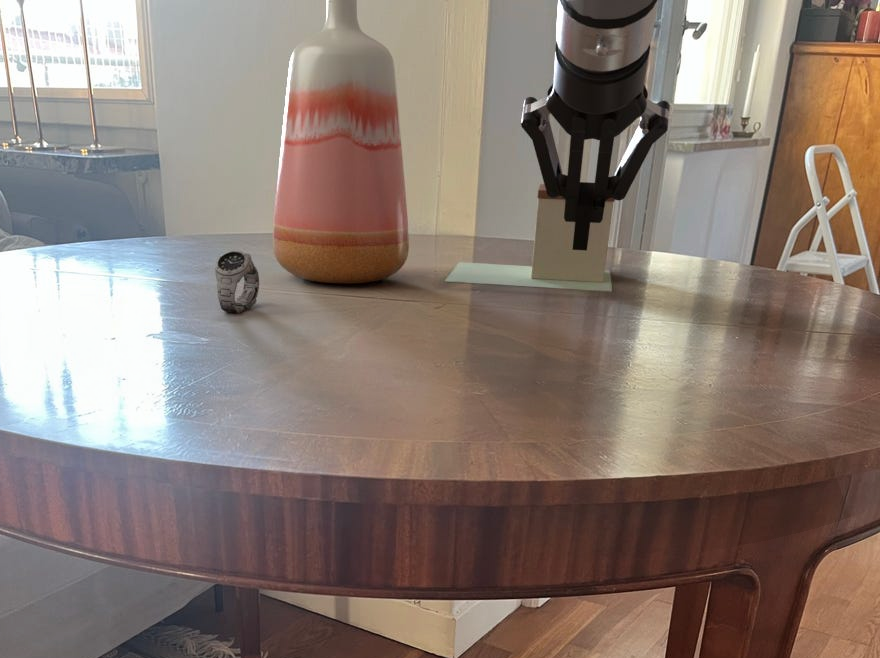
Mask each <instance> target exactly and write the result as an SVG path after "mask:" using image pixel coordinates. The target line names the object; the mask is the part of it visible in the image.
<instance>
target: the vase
mask: <svg viewBox="0 0 880 658" xmlns="http://www.w3.org/2000/svg"><path fill="white" fill-rule="evenodd" d="M286 86H287V87H286V95H285V106H284V114H283V125H282V134H281V141H280V142H281V143H280V153H279V162H278V173H277V183H276V192H275V193H276V194H275V202H274V211H273V222H272V224H273V226H272V249H273V253H274V257H275V260H276V261H277V262H278V264H279V265H280V267H282V268H283V269H284V270H285V271H286V272H288V273H290V274H291V275H293V276H295V277H298V278H300V279H303V280H306V281H311V282H317V283H323V284H324V283H326V284H343V285H344V284H346V285H347V284H348V285H349V284H350V285H351V284H366V283H373V282H379V281H383V280H385V279H387V278H389V277H391V276H393V275H395V274H396V273H397V272H399V271H400V270H401V269H402V268H403V266H404V265H405V264H406V262H407V259H408V256H409V249H410V237H409V236H410V235H409V218H408V205H407V193H406V181H405V169H404V160H403V148H402V136H401V124H400V111H399V103H398V90H397V89H398V87H397V77H396V69H395V62H394V58H393V56H392V53H391V52H390V50H389V48H387V47H386V46H385V45H383V44H382V43H380V41H378V40H377V39H375V38H373V37H371V36H369V35H367V34H366V33H365V32H364V31H363V30H362V29H361V27H360V24H359V21H358V0H326V18H325V23H324V26H323V28H322V29H321V30H320V31H319V32H317V33H315V34H313V35H311V36H310V37H307V38H306V39H304V40H302V41H301V42H300V43H298V44H297V45H296V46H295V47H294V49H293V51H292V54H291V56H290V61H289V67H288V76H287V84H286Z"/></svg>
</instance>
